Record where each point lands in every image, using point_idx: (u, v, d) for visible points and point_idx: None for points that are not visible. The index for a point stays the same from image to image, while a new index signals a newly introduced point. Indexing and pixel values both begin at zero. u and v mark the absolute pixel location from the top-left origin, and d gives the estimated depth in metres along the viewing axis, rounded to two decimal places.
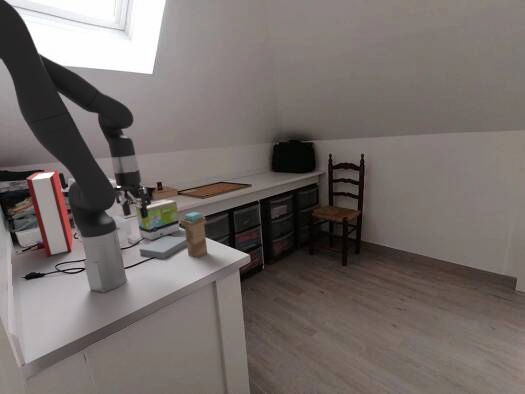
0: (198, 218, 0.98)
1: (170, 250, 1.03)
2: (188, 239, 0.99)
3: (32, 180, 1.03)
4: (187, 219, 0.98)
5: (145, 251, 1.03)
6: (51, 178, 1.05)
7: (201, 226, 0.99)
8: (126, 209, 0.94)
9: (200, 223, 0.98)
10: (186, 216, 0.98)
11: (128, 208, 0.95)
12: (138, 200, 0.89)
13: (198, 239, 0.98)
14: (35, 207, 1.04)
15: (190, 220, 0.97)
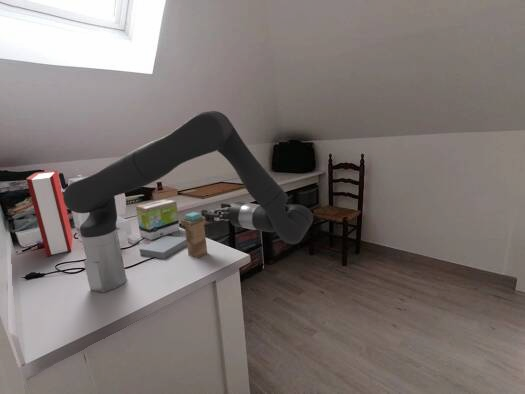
0: (198, 218, 0.98)
1: (170, 250, 1.03)
2: (188, 239, 0.99)
3: (32, 180, 1.03)
4: (187, 219, 0.98)
5: (145, 251, 1.03)
6: (51, 178, 1.05)
7: (201, 226, 0.99)
8: (225, 206, 0.92)
9: (200, 223, 0.98)
10: (186, 216, 0.98)
11: None
12: (215, 212, 0.84)
13: (198, 239, 0.98)
14: (35, 207, 1.04)
15: (190, 220, 0.97)
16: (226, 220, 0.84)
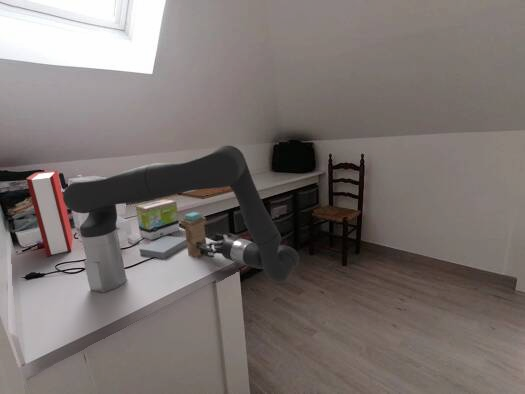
0: (198, 218, 0.98)
1: (170, 250, 1.03)
2: (188, 239, 0.99)
3: (32, 180, 1.03)
4: (187, 219, 0.98)
5: (145, 251, 1.03)
6: (51, 178, 1.05)
7: (201, 226, 0.99)
8: (219, 237, 0.98)
9: (200, 223, 0.98)
10: (186, 216, 0.98)
11: (219, 239, 0.98)
12: (209, 245, 0.89)
13: (198, 239, 0.98)
14: (35, 207, 1.04)
15: (190, 220, 0.97)
16: None
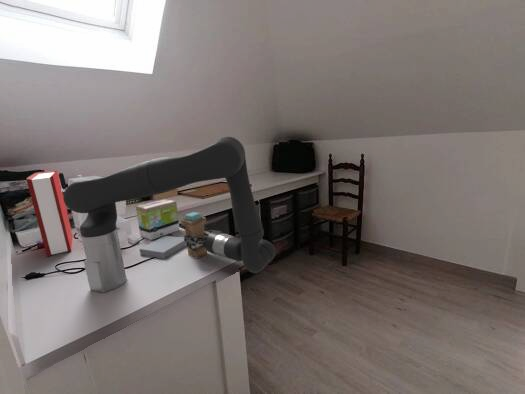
0: (198, 218, 0.98)
1: (170, 250, 1.03)
2: None
3: (32, 180, 1.03)
4: (187, 219, 0.98)
5: (145, 251, 1.03)
6: (51, 178, 1.05)
7: (201, 226, 0.99)
8: None
9: (200, 223, 0.98)
10: (186, 216, 0.98)
11: None
12: (194, 239, 0.96)
13: None
14: (35, 207, 1.04)
15: (190, 220, 0.97)
16: None
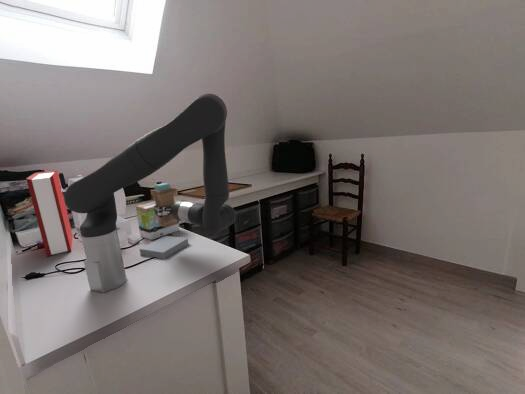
0: (167, 188, 1.01)
1: (170, 250, 1.03)
2: None
3: (32, 180, 1.03)
4: (156, 189, 1.00)
5: (145, 251, 1.03)
6: (51, 178, 1.05)
7: (170, 196, 1.02)
8: None
9: (169, 193, 1.00)
10: (155, 186, 1.00)
11: None
12: (162, 207, 0.98)
13: None
14: (35, 207, 1.04)
15: (159, 190, 0.99)
16: (171, 215, 0.98)
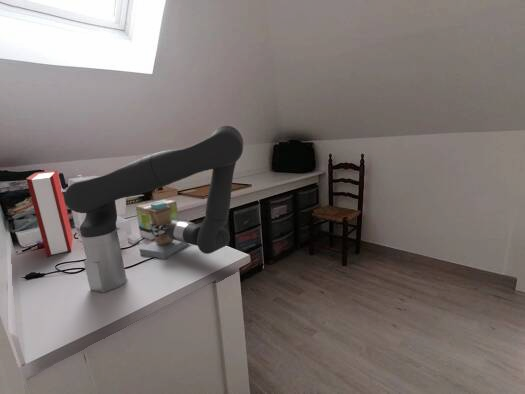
0: (163, 207, 1.04)
1: (170, 250, 1.03)
2: None
3: (32, 180, 1.03)
4: (153, 208, 1.04)
5: (145, 251, 1.03)
6: (51, 178, 1.05)
7: (166, 215, 1.05)
8: None
9: (165, 212, 1.03)
10: (152, 205, 1.04)
11: None
12: (159, 226, 1.01)
13: None
14: (35, 207, 1.04)
15: (155, 209, 1.03)
16: None
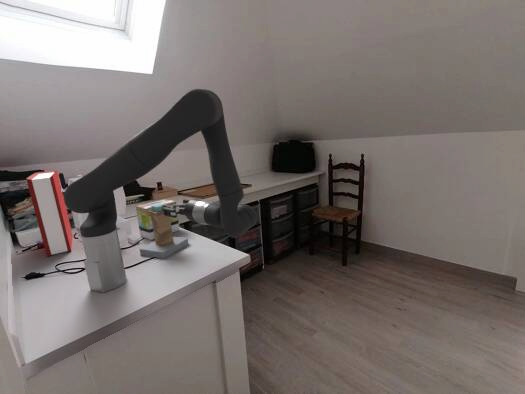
0: None
1: (170, 250, 1.03)
2: (154, 229, 1.05)
3: (32, 180, 1.03)
4: (153, 210, 1.04)
5: (145, 251, 1.03)
6: (51, 178, 1.05)
7: (167, 217, 1.05)
8: (186, 202, 0.99)
9: None
10: (152, 207, 1.04)
11: None
12: (173, 207, 0.90)
13: (164, 229, 1.04)
14: (35, 207, 1.04)
15: (156, 211, 1.03)
16: (184, 215, 0.91)
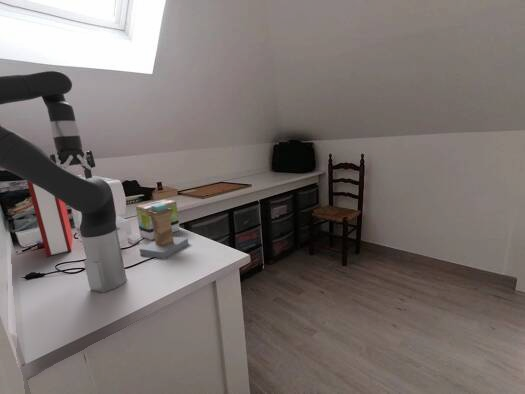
0: (164, 209, 1.04)
1: (170, 250, 1.03)
2: (154, 229, 1.05)
3: None
4: (153, 210, 1.04)
5: (145, 251, 1.03)
6: None
7: (167, 217, 1.05)
8: (86, 174, 0.99)
9: (165, 214, 1.04)
10: (152, 207, 1.04)
11: (87, 173, 0.98)
12: (59, 166, 0.91)
13: (164, 229, 1.04)
14: (35, 207, 1.04)
15: (156, 211, 1.03)
16: (68, 157, 0.91)
